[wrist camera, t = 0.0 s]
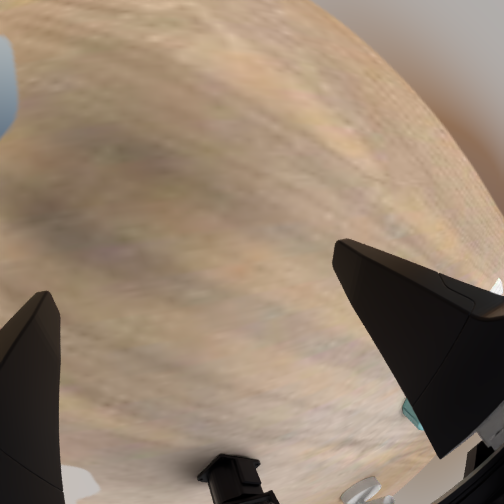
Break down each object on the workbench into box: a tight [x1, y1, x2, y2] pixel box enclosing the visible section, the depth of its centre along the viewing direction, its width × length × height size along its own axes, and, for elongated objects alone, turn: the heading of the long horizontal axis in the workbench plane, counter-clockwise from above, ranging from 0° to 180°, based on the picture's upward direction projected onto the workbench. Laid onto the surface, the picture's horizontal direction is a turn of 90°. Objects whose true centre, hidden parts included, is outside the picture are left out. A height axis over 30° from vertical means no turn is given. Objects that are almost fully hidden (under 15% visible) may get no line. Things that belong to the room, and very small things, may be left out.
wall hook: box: [341, 477, 395, 504], centre depth 45 cm, size 9×10×10 cm
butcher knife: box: [490, 278, 503, 295], centre depth 41 cm, size 5×15×1 cm, turn 132°
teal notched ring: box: [402, 398, 424, 430], centre depth 40 cm, size 9×9×4 cm
